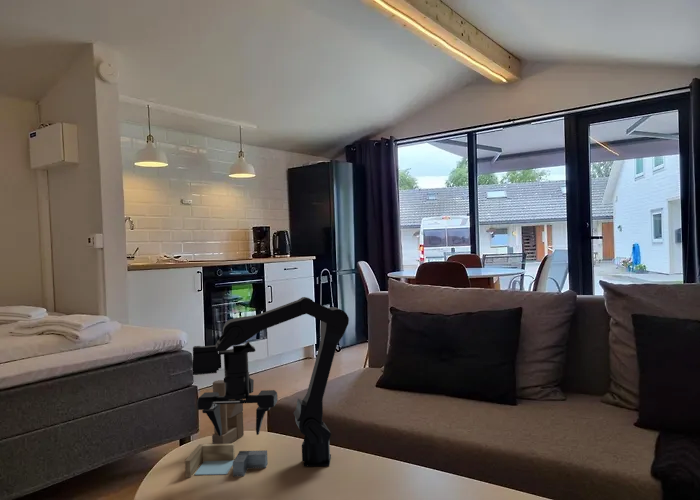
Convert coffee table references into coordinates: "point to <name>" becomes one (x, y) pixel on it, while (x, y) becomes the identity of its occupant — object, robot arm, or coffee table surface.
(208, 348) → the robot arm
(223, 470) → the pad
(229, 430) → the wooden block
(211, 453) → the corner walls
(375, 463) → the coffee table surface
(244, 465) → the bracket
